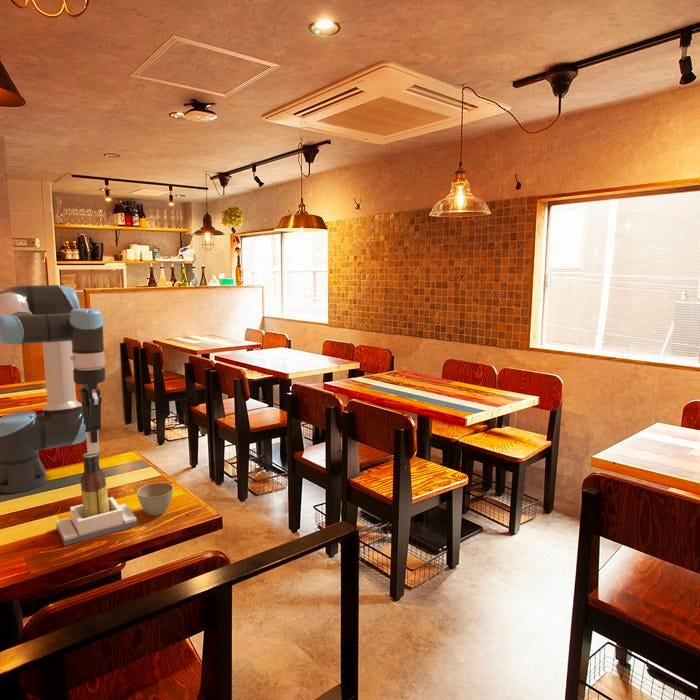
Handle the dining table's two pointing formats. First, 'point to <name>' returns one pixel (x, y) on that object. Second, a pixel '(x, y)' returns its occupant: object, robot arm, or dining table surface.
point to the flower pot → (155, 497)
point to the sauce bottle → (93, 487)
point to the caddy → (95, 523)
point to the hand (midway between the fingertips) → (93, 452)
